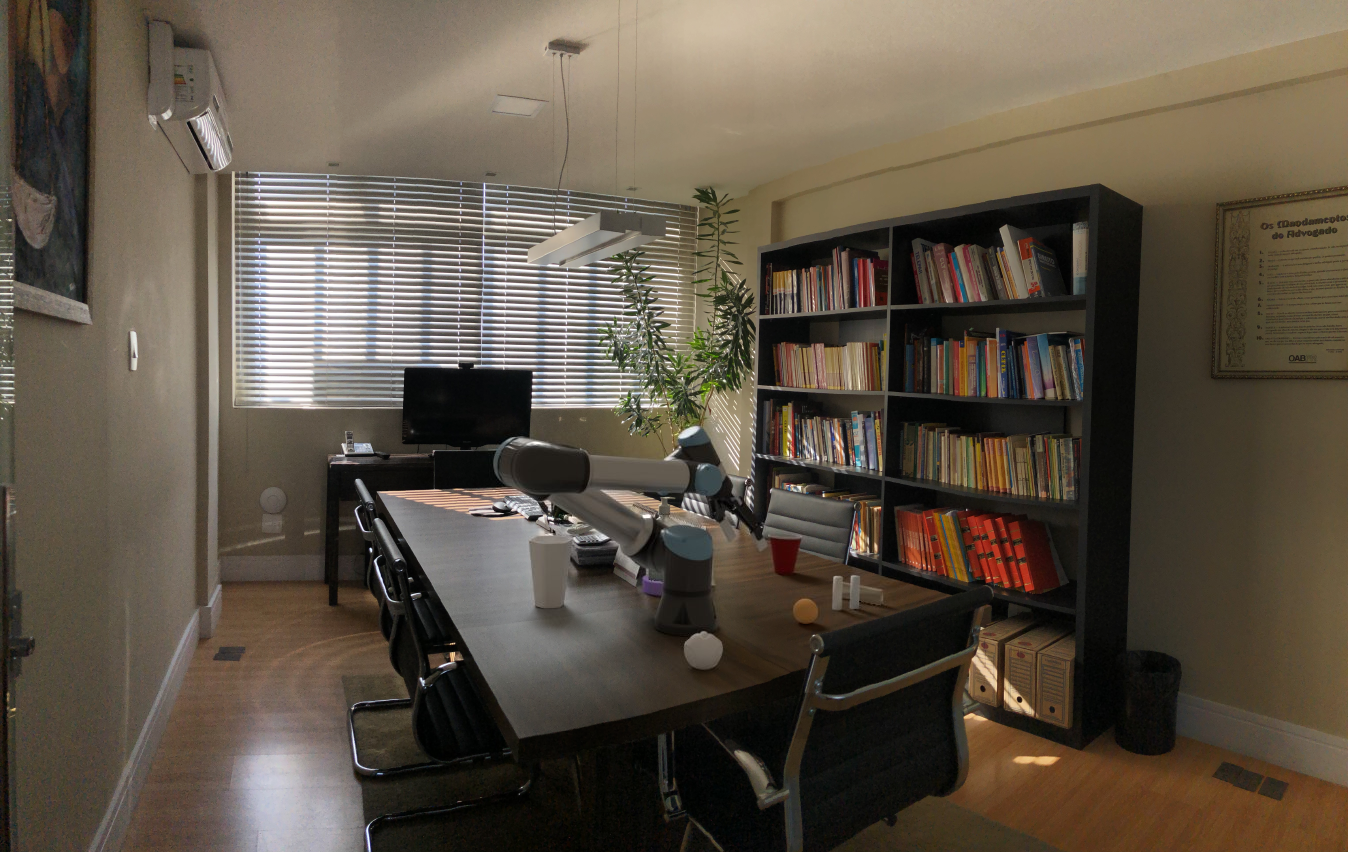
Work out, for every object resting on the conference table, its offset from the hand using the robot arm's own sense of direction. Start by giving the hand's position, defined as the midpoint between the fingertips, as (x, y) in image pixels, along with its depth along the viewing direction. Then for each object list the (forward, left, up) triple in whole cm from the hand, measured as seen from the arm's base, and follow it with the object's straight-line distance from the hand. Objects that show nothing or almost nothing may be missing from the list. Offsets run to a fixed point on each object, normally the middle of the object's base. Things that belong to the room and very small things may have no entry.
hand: (747, 543), depth 217 cm
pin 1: (+14, -20, -15) cm, 29 cm away
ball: (-2, -24, -12) cm, 27 cm away
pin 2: (+19, -22, -15) cm, 33 cm away
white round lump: (-43, -35, -15) cm, 58 cm away
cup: (-48, +22, -15) cm, 55 cm away
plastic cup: (+31, +17, -15) cm, 38 cm away
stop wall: (+26, -17, -15) cm, 34 cm away
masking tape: (-14, +19, -16) cm, 28 cm away
